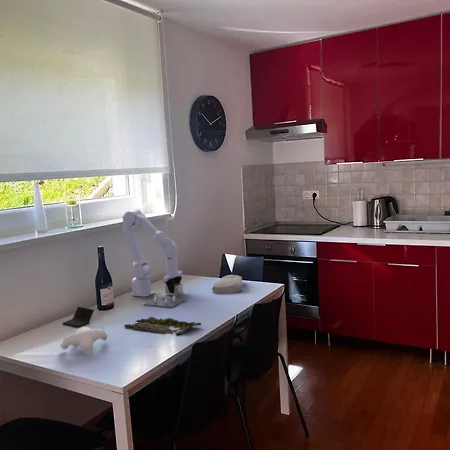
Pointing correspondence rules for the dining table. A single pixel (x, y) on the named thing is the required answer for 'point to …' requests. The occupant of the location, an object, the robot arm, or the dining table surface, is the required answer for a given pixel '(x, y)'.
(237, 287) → the stone
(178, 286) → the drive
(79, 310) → the handheld gaming console
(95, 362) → the dining table surface
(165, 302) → the grey knobbed plate
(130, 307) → the dining table surface
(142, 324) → the miniature landscape
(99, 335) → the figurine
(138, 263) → the robot arm
